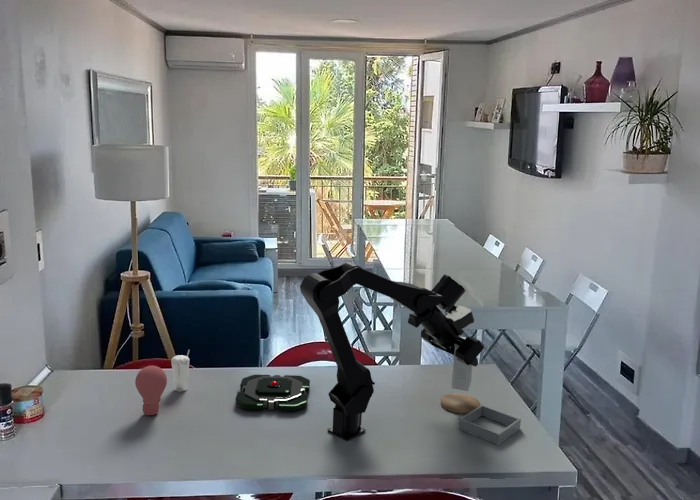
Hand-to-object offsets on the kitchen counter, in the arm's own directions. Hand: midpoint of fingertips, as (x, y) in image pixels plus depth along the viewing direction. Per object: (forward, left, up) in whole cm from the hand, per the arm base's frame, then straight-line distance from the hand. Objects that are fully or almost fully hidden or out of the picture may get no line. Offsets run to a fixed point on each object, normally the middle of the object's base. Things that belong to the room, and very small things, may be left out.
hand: (467, 359), depth 159 cm
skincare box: (-1, 0, -7) cm, 7 cm away
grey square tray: (-7, -11, -12) cm, 18 cm away
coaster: (-1, 0, -12) cm, 12 cm away
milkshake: (-46, +57, -12) cm, 74 cm away
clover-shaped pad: (-32, +37, -13) cm, 50 cm away
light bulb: (-59, +50, -12) cm, 78 cm away
